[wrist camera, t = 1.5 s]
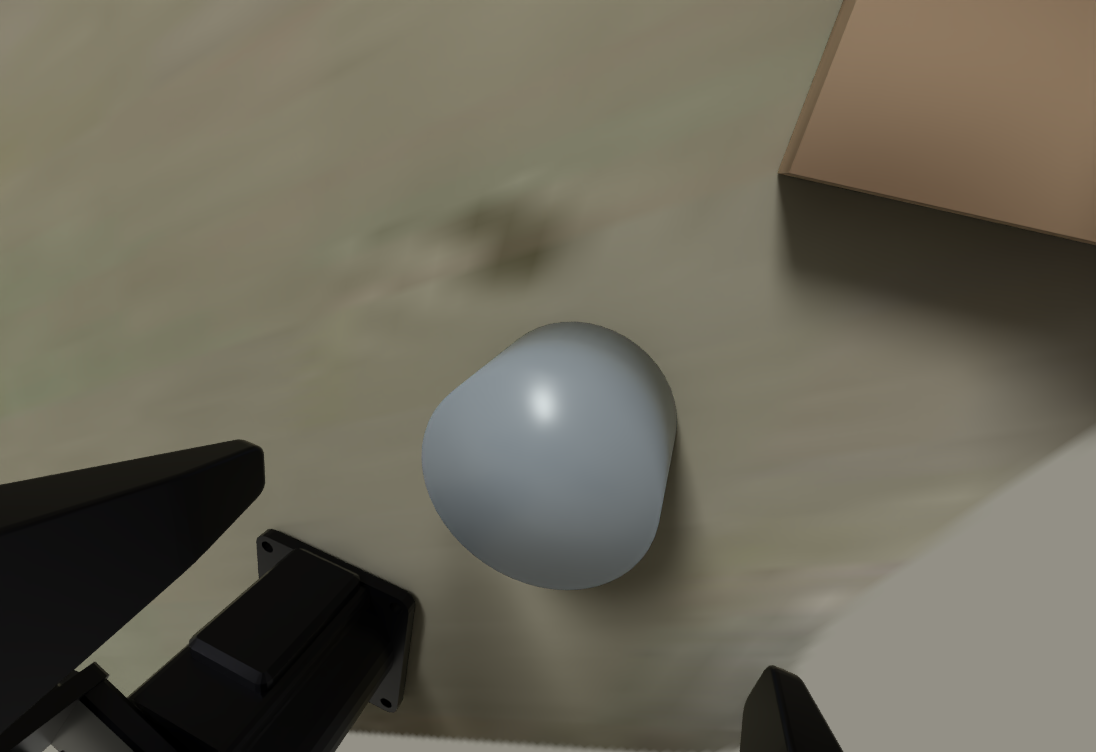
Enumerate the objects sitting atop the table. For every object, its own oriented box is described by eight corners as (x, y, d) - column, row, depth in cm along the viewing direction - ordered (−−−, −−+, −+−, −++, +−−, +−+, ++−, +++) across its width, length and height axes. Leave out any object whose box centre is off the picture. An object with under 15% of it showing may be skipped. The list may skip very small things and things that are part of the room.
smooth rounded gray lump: (643, 522, 13) (618, 625, 10) (478, 458, 15) (411, 534, 11) (706, 357, 11) (699, 426, 8) (507, 296, 12) (434, 336, 9)
